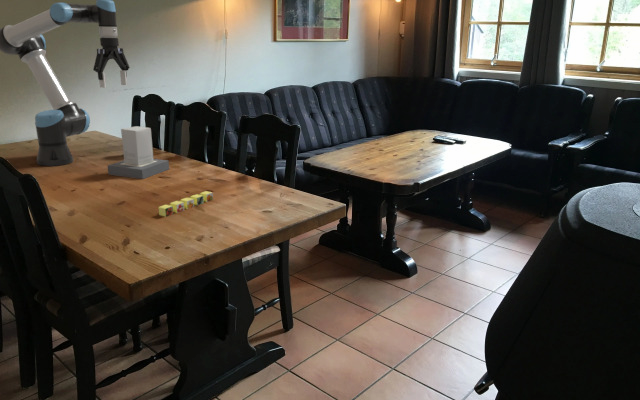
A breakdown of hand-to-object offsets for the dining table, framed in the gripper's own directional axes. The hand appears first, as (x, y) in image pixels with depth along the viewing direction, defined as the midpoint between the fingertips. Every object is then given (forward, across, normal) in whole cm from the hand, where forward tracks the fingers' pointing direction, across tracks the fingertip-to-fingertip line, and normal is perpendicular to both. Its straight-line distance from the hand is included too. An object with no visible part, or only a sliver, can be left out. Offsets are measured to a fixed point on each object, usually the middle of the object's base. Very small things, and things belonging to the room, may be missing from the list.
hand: (113, 86), depth 239 cm
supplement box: (+31, -13, -21) cm, 39 cm away
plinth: (+35, -13, -21) cm, 43 cm away
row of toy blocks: (+36, -45, -70) cm, 90 cm away
